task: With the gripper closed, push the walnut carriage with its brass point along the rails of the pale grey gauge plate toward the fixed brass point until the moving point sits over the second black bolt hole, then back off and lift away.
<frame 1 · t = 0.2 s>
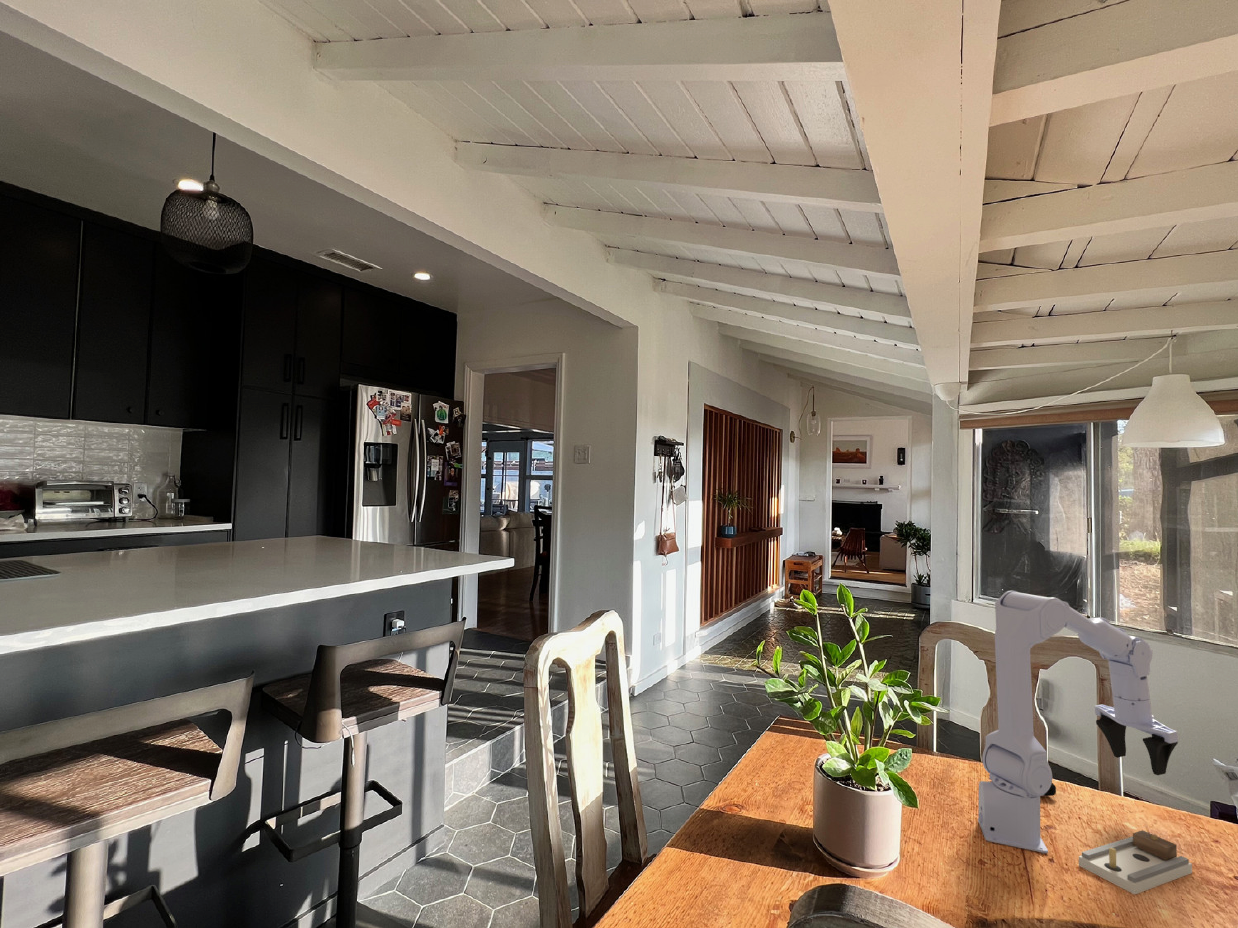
hand: (1139, 764, 119), 10 cm above the table, fingers open, 7 cm apart
gauge plate: (1132, 869, 101), on the table
tape measure: (1033, 792, 129), on the table
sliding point: (1154, 843, 104), point 3 cm above the table, slide at 0.0 cm
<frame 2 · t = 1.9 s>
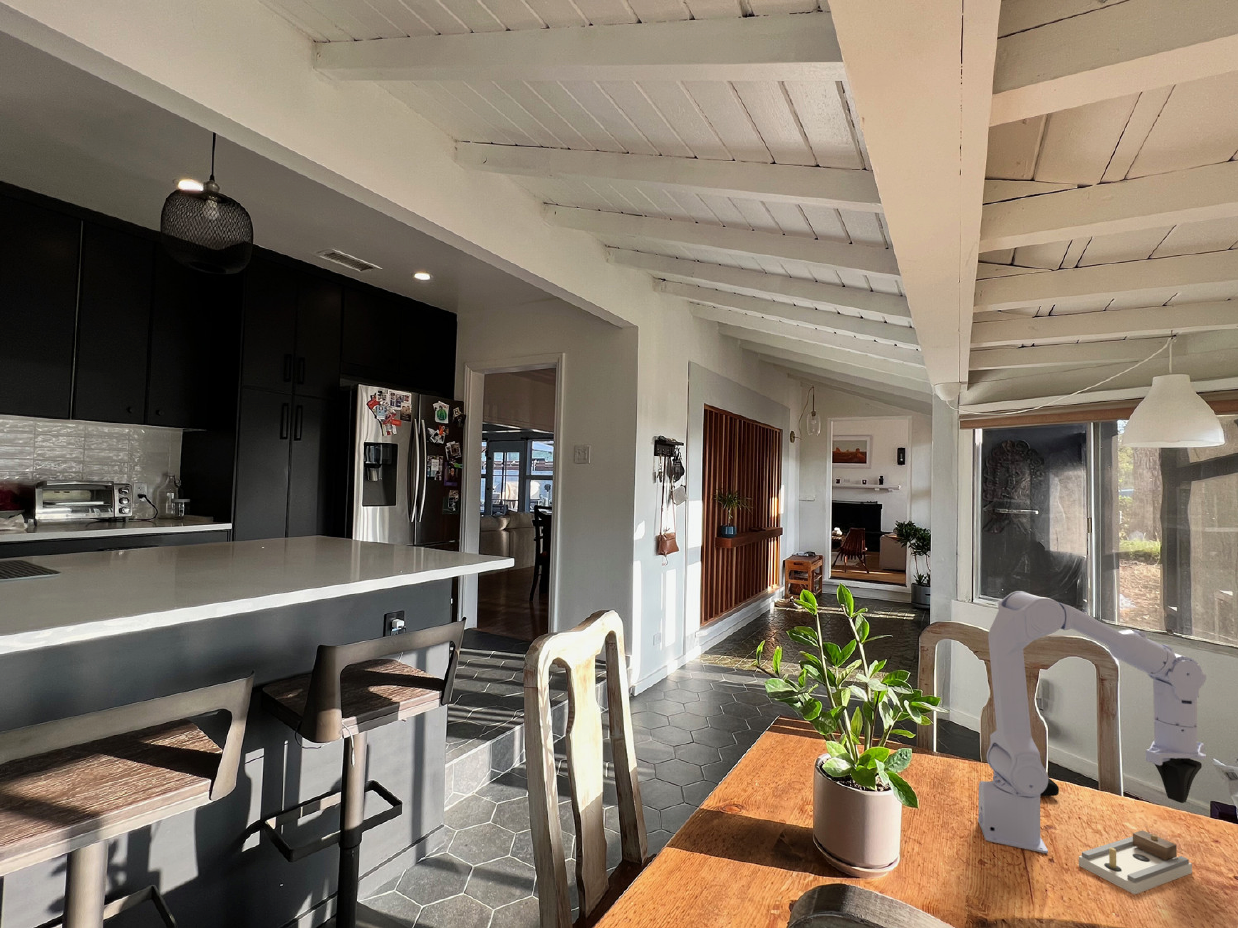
hand: (1176, 799, 107), 9 cm above the table, fingers closed
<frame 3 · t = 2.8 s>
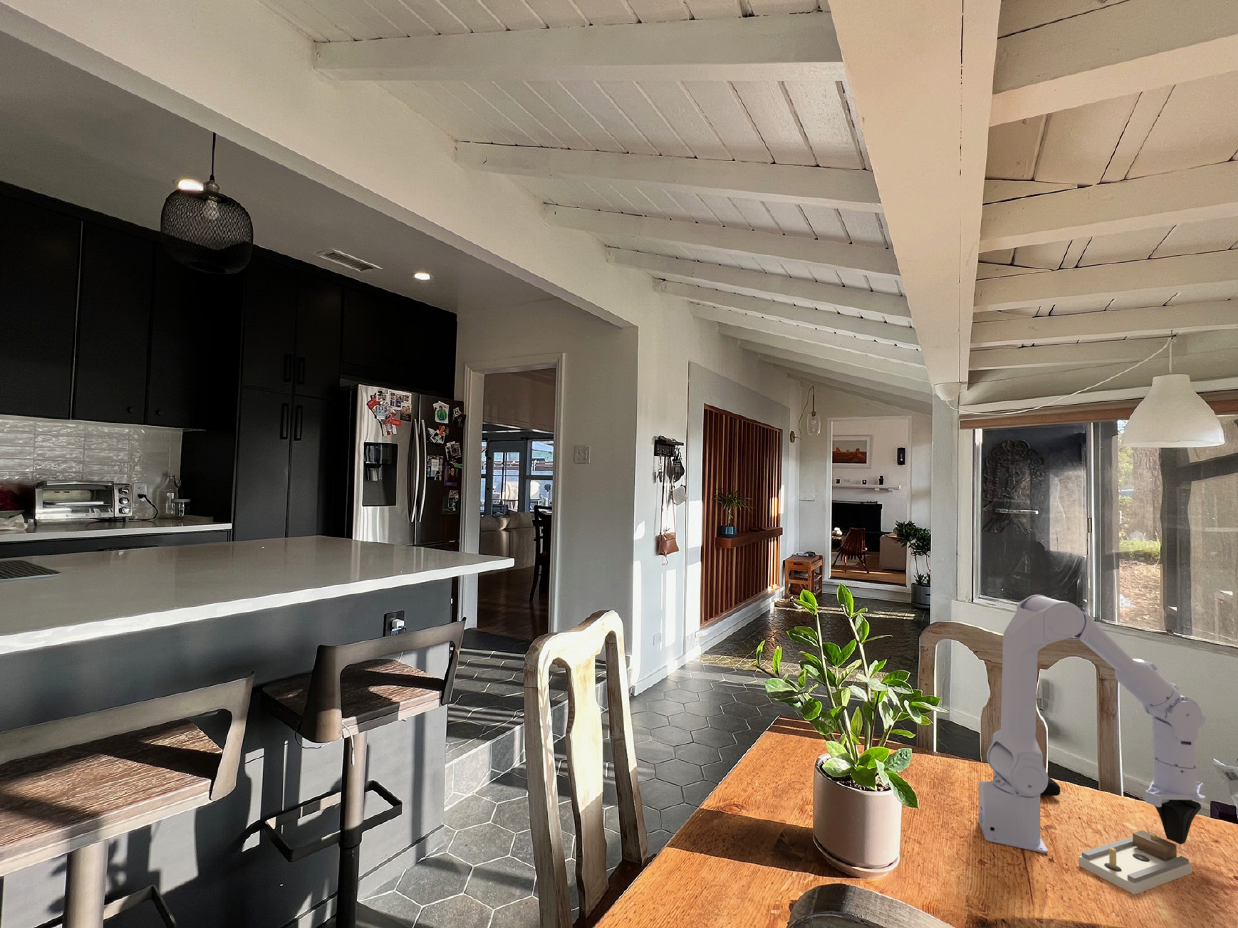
hand: (1175, 840, 107), 2 cm above the table, fingers closed
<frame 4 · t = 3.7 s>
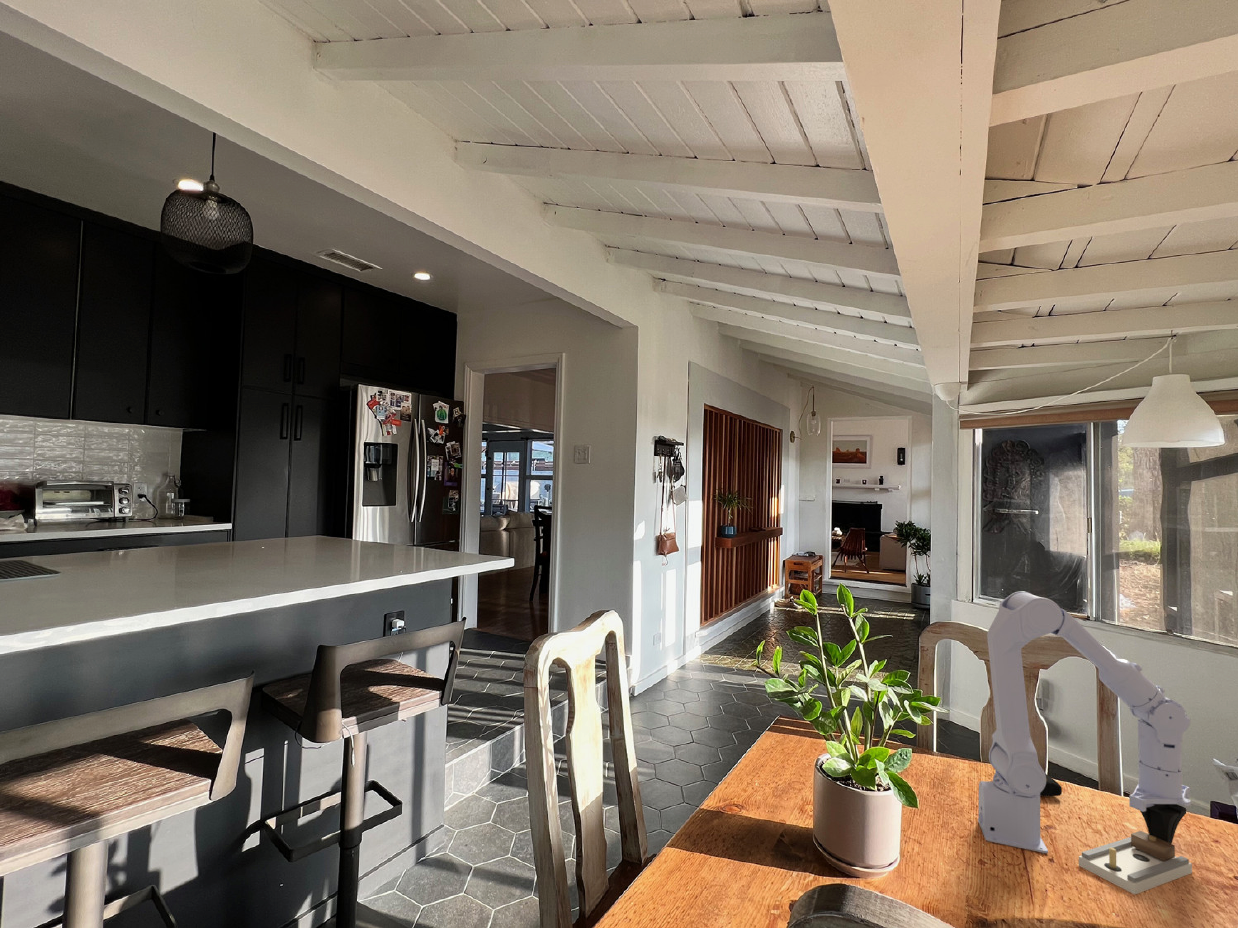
hand: (1160, 845, 105), 2 cm above the table, fingers closed
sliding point: (1152, 843, 104), point 3 cm above the table, slide at 0.5 cm, touching gripper
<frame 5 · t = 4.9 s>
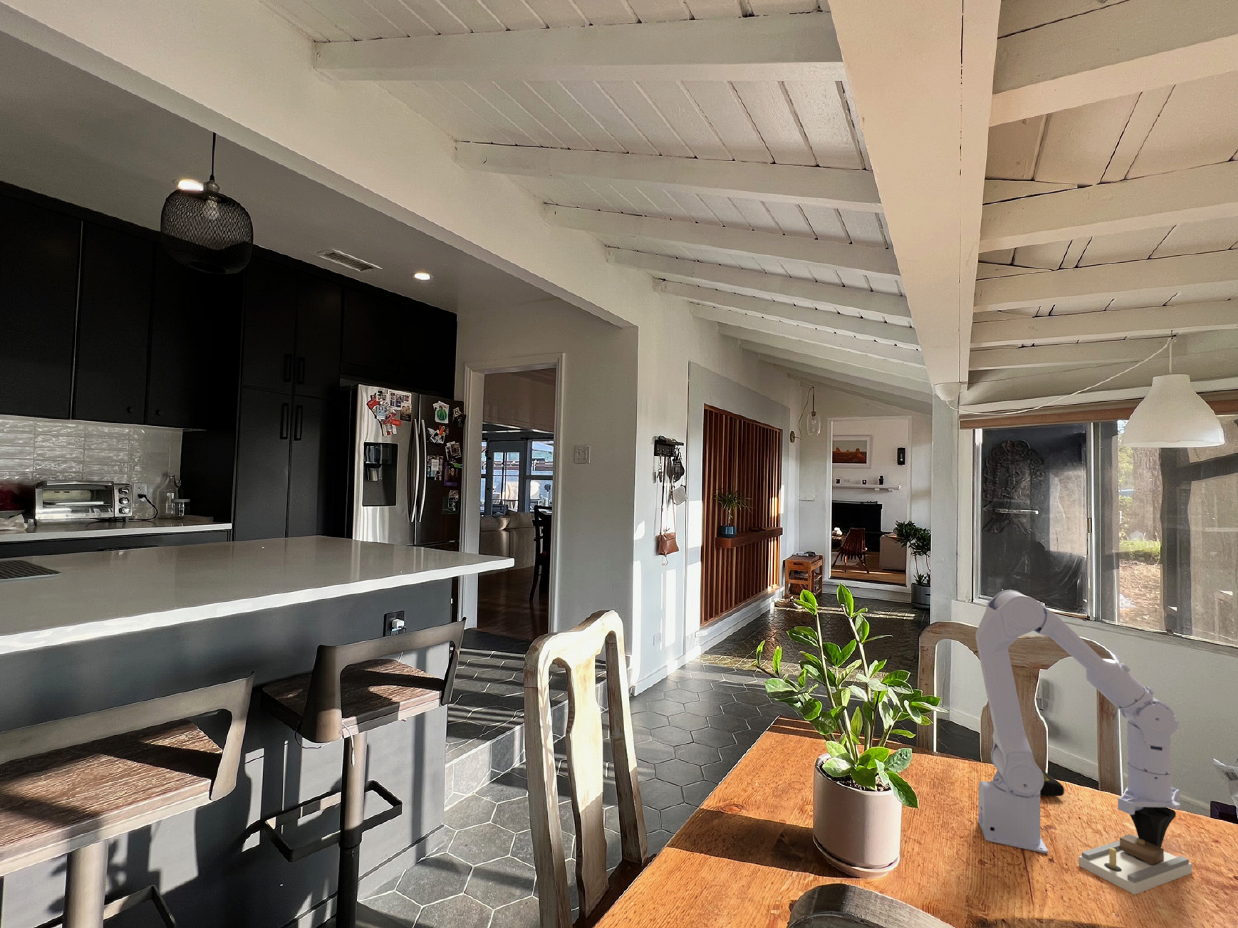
hand: (1150, 849, 103), 2 cm above the table, fingers closed
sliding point: (1141, 847, 103), point 3 cm above the table, slide at 3.8 cm, touching gripper
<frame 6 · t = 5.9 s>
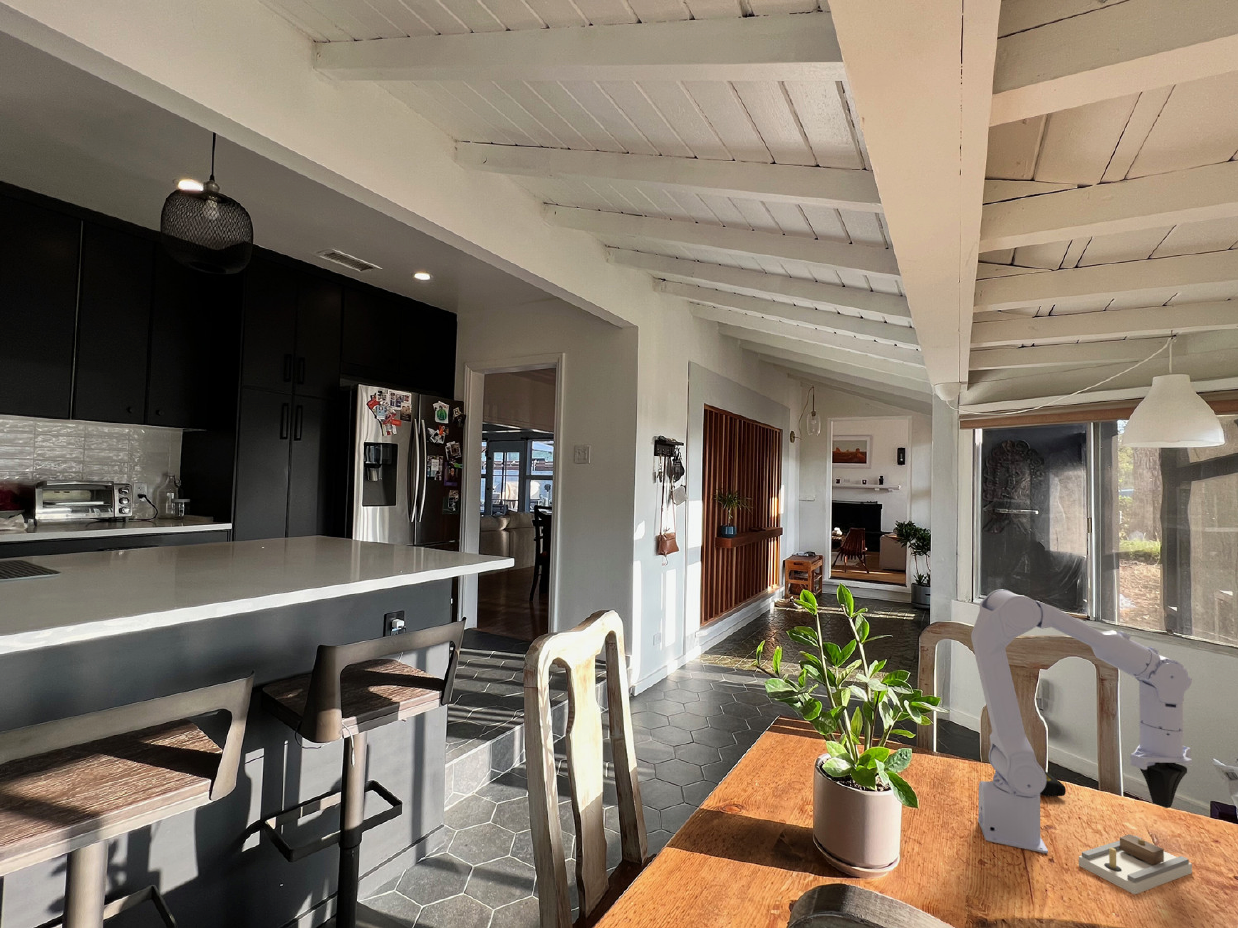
hand: (1161, 804, 105), 9 cm above the table, fingers closed
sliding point: (1141, 847, 103), point 3 cm above the table, slide at 3.8 cm
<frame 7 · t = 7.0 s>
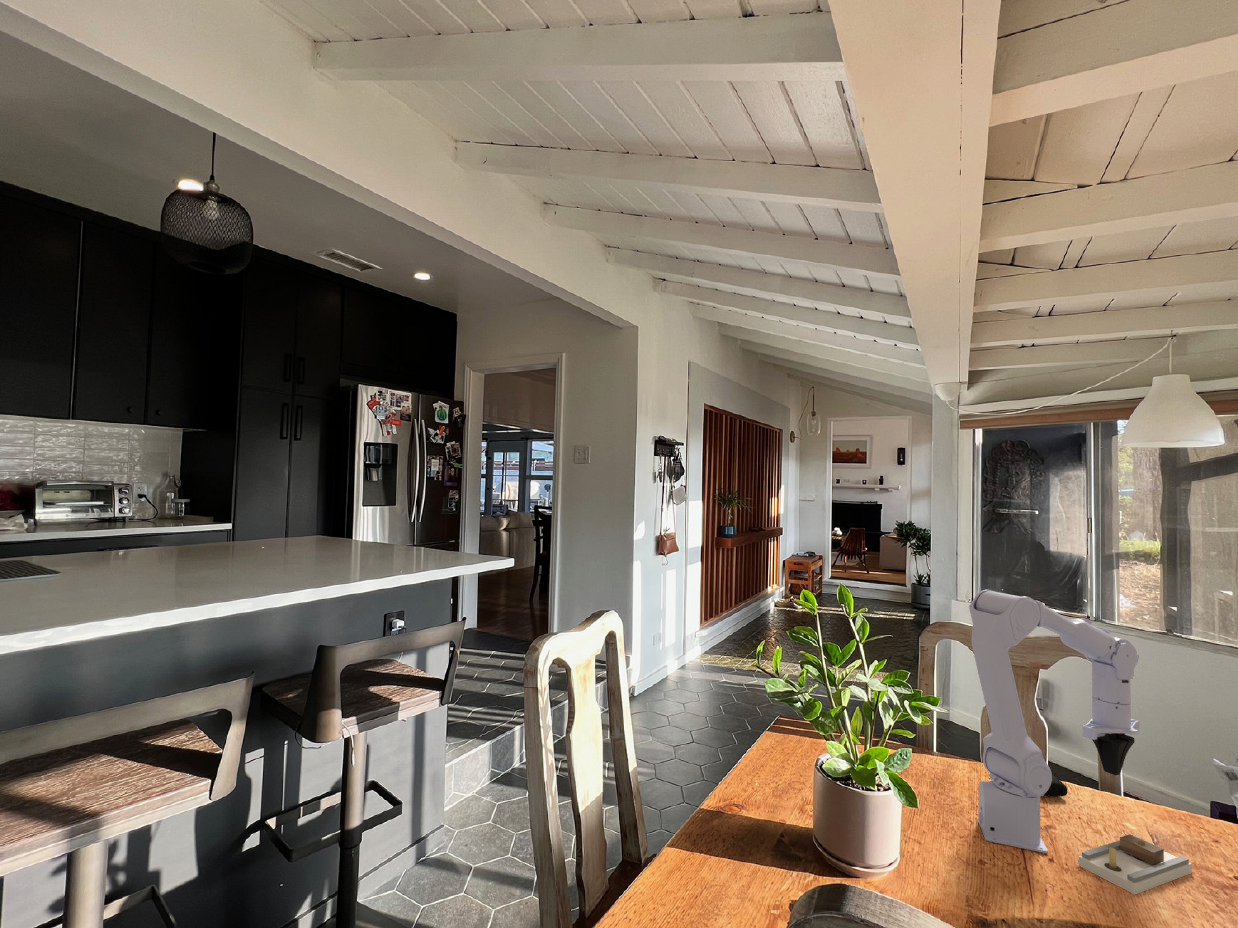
hand: (1111, 772, 115), 10 cm above the table, fingers closed
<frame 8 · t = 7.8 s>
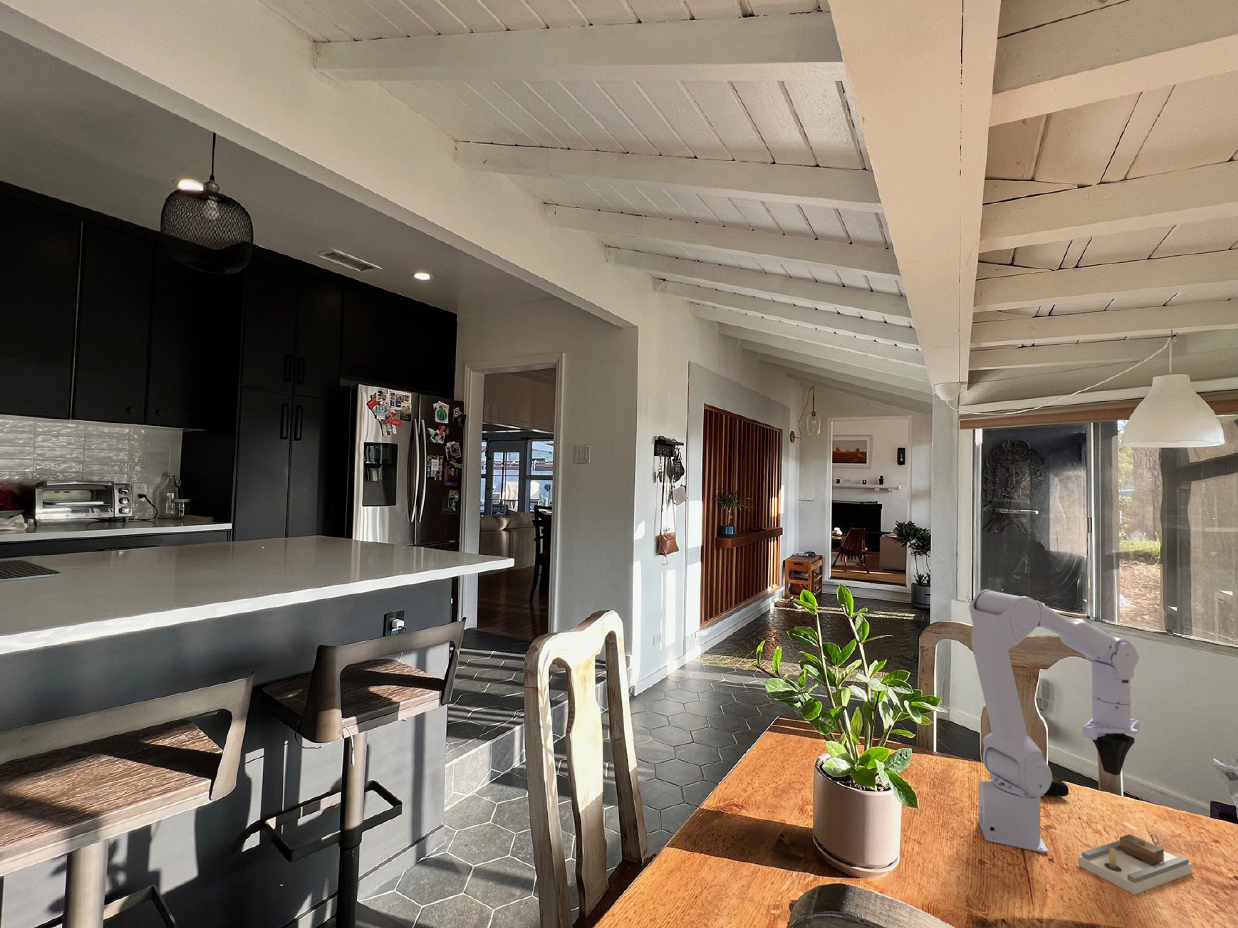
hand: (1111, 772, 115), 10 cm above the table, fingers closed
at the end: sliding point slide at 3.8 cm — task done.
